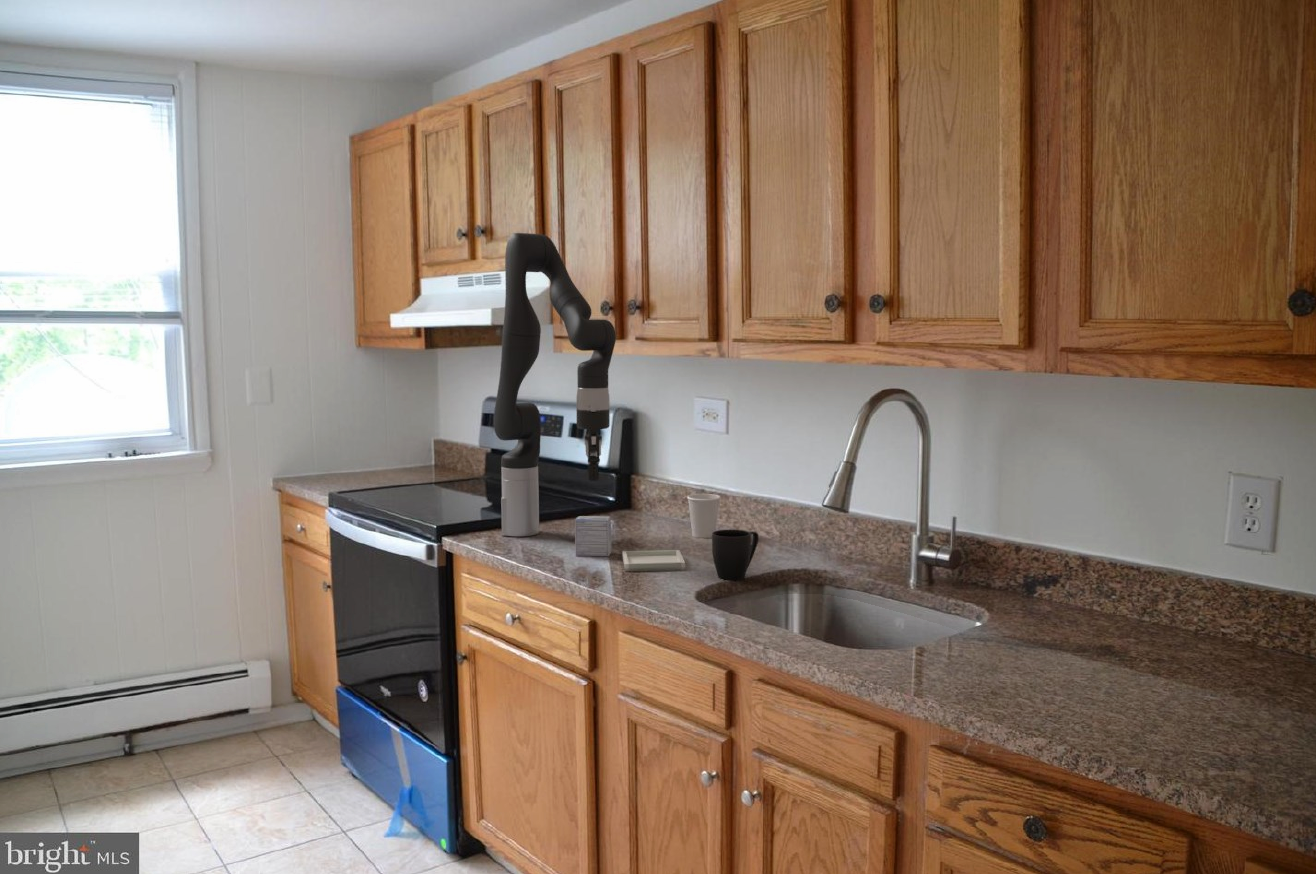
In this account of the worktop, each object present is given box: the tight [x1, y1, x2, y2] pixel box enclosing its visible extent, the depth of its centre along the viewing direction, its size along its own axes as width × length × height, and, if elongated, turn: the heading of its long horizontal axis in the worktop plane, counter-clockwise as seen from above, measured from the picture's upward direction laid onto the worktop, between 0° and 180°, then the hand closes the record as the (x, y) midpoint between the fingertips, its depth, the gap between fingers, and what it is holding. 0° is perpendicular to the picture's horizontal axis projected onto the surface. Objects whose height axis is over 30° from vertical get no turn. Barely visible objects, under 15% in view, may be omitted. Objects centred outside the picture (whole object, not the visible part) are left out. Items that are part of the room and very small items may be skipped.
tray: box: [621, 549, 686, 572], centre depth 236 cm, size 13×13×2 cm
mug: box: [711, 529, 759, 582], centre depth 224 cm, size 8×12×10 cm
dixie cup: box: [687, 493, 722, 539], centre depth 266 cm, size 8×8×10 cm
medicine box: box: [574, 515, 612, 557], centre depth 245 cm, size 8×4×9 cm, turn 84°
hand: (593, 477), depth 244 cm, fingers open, 8 cm apart
